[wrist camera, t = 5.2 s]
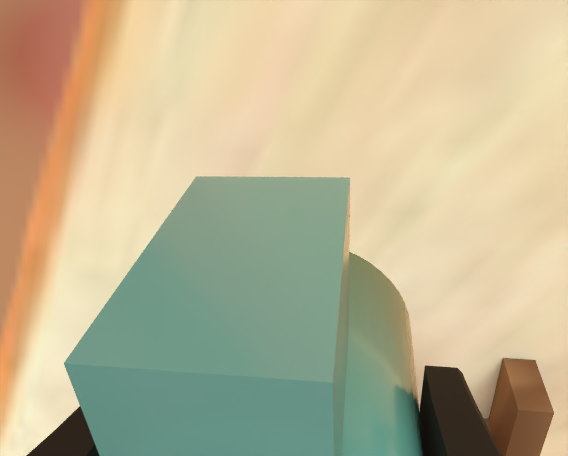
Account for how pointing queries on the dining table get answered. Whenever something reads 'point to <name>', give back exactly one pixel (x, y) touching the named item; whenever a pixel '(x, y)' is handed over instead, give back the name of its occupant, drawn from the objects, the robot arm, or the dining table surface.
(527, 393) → the dock
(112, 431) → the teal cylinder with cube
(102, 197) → the dining table surface
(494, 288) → the dining table surface
